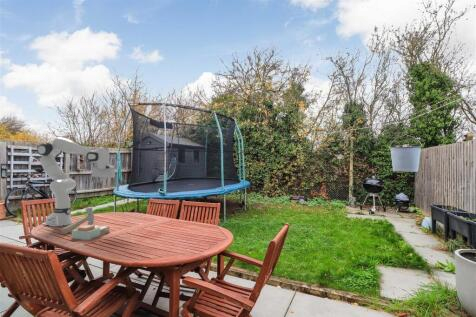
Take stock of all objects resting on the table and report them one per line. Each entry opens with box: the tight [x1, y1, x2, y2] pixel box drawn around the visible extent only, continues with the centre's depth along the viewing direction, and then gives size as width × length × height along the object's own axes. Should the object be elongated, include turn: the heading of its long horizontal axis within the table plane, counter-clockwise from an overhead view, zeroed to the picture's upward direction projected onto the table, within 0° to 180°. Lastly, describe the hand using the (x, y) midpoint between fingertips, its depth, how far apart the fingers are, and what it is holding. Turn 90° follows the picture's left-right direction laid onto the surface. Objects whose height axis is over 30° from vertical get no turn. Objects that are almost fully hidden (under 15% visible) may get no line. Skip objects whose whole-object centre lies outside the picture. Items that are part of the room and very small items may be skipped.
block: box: [77, 224, 96, 231], centre depth 213 cm, size 7×7×9 cm
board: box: [95, 225, 110, 236], centre depth 225 cm, size 14×12×4 cm
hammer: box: [61, 206, 95, 235], centre depth 234 cm, size 16×5×30 cm
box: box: [71, 228, 101, 241], centre depth 213 cm, size 14×12×6 cm
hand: (103, 182), depth 246 cm, fingers closed
